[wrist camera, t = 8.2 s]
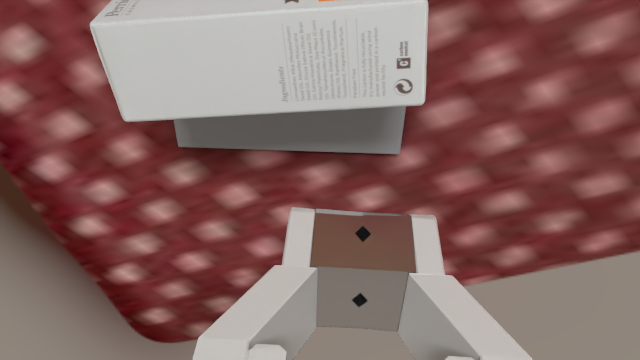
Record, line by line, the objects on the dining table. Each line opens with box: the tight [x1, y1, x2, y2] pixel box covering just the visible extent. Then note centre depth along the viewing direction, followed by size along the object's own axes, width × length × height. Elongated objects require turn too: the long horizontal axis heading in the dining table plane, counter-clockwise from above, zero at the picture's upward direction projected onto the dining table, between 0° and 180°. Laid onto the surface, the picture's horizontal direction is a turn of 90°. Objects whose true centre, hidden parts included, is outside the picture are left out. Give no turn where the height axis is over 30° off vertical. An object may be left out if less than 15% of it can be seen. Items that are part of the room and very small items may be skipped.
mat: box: [174, 106, 406, 154], centre depth 25 cm, size 12×14×1 cm
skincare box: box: [90, 0, 428, 122], centre depth 22 cm, size 6×4×12 cm
